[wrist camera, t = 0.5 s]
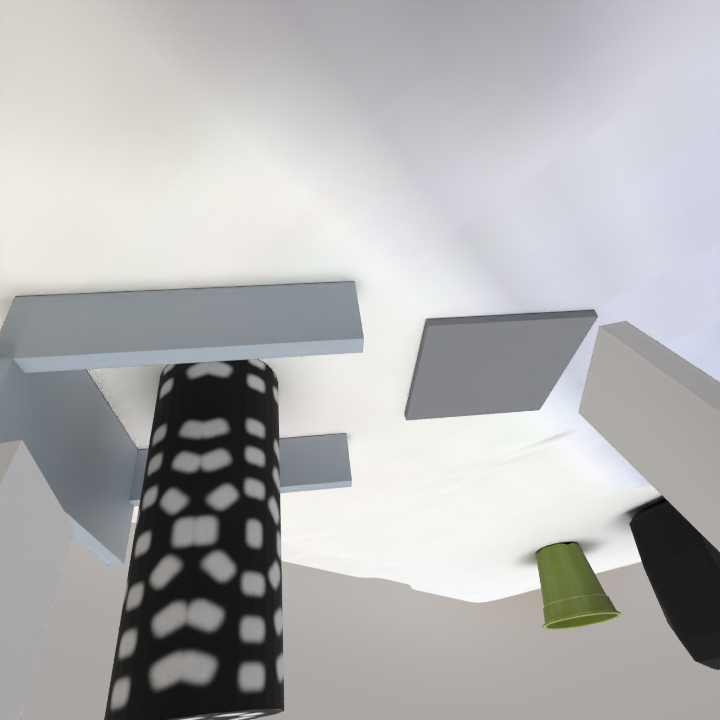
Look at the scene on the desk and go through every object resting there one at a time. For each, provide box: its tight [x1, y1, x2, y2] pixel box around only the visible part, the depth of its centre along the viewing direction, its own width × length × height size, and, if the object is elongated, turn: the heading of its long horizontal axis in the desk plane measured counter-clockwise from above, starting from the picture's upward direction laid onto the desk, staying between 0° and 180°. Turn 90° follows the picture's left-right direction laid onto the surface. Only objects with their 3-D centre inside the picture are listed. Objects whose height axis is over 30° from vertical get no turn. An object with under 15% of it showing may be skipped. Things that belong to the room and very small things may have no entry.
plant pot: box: [536, 543, 622, 630], centre depth 80 cm, size 12×12×11 cm
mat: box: [405, 310, 598, 420], centre depth 38 cm, size 12×12×1 cm
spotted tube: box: [104, 359, 284, 720], centre depth 30 cm, size 8×8×20 cm
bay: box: [0, 282, 364, 565], centre depth 33 cm, size 19×19×9 cm
